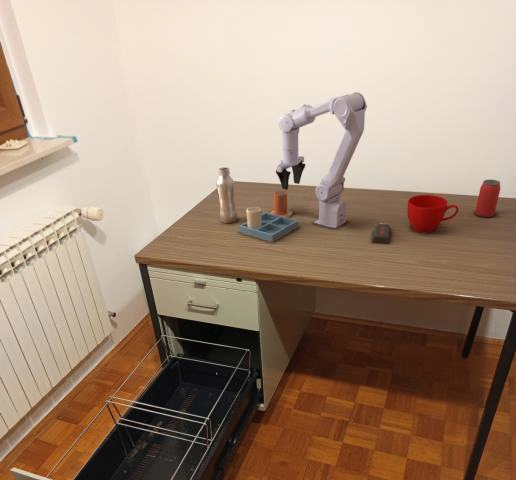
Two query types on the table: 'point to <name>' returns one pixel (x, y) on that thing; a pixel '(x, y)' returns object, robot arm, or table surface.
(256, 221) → the cream tumbler
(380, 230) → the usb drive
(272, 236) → the rack
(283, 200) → the tumbler
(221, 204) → the plastic bottle
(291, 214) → the coaster
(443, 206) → the ceramic cup
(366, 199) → the table surface
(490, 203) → the beer can
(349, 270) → the table surface
